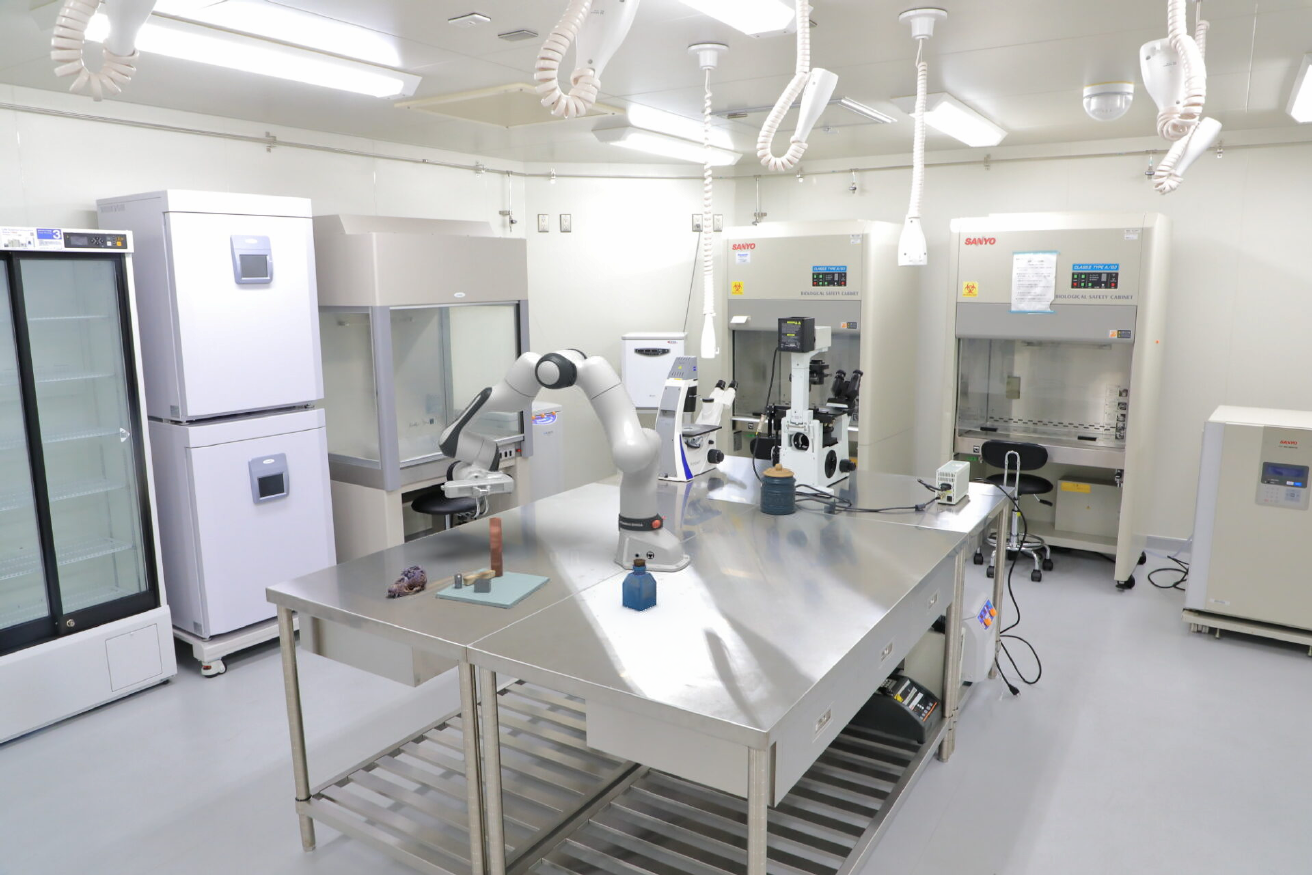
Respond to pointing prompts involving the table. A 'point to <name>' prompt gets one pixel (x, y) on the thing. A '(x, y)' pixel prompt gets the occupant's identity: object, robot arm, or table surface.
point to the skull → (409, 581)
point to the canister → (778, 491)
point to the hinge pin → (458, 581)
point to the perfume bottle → (639, 588)
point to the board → (497, 590)
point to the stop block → (482, 585)
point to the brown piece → (495, 554)
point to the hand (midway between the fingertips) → (484, 492)
